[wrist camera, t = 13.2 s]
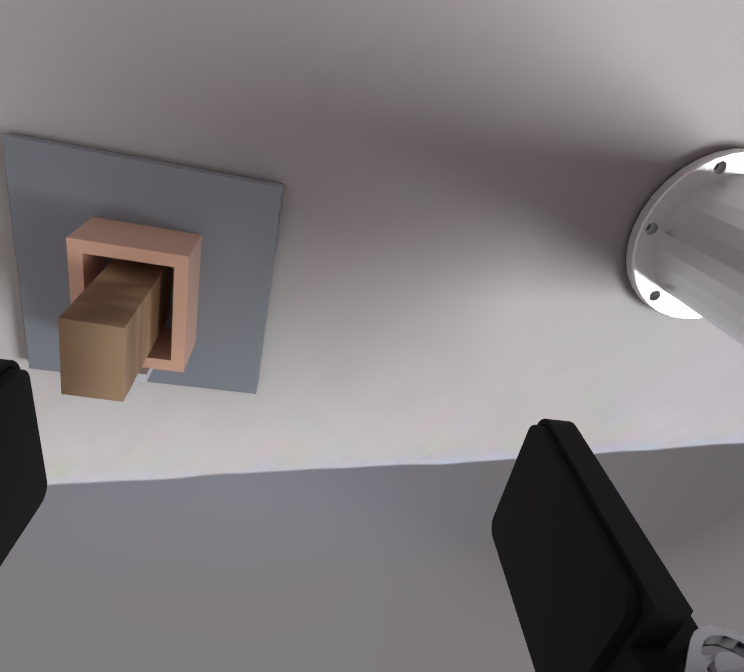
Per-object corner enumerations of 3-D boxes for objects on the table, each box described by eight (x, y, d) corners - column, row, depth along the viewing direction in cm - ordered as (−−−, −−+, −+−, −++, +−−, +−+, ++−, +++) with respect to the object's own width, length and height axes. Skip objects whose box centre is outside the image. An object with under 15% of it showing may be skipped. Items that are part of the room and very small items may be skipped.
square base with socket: (283, 184, 33) (277, 208, 28) (257, 386, 41) (249, 433, 36) (10, 132, 30) (-49, 149, 25) (35, 360, 38) (-6, 408, 33)
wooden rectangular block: (172, 256, 34) (124, 328, 25) (169, 316, 36) (122, 401, 27) (124, 247, 33) (57, 318, 25) (123, 308, 35) (61, 393, 27)
